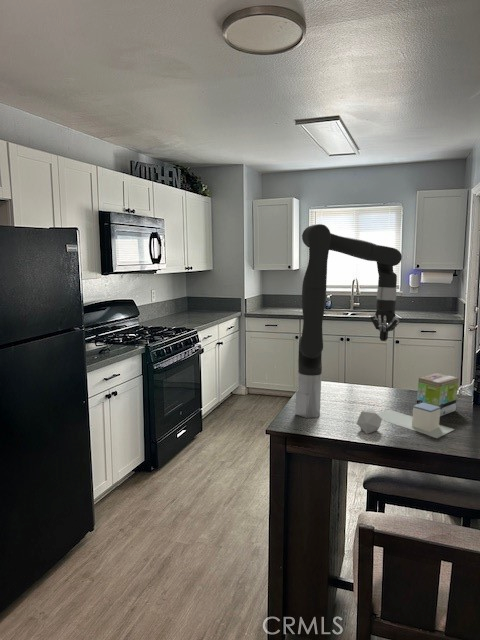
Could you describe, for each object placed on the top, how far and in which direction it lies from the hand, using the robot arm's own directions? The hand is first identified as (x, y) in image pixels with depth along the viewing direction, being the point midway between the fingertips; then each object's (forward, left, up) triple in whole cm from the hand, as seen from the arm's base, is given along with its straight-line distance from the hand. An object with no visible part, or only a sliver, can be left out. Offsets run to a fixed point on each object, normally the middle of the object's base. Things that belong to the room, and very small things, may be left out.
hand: (383, 340), depth 189 cm
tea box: (+18, -15, -30) cm, 38 cm away
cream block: (-3, -22, -21) cm, 31 cm away
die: (-23, -11, -30) cm, 39 cm away
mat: (-3, -16, -30) cm, 34 cm away
